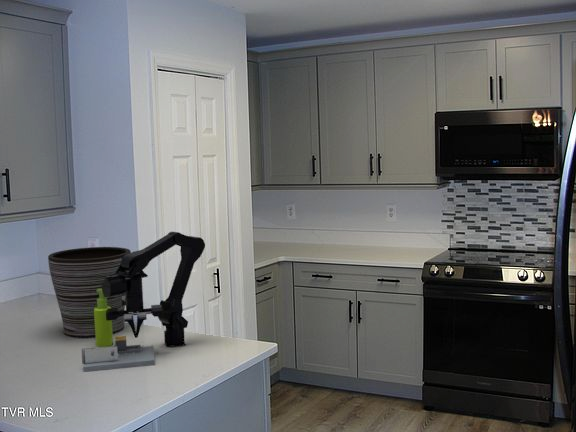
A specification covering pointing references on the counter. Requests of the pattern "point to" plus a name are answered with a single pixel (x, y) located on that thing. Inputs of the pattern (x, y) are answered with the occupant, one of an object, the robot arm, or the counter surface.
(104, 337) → the soap dispenser
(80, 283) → the planter pot
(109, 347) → the rack door
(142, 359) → the console
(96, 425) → the counter surface
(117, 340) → the fader knob
